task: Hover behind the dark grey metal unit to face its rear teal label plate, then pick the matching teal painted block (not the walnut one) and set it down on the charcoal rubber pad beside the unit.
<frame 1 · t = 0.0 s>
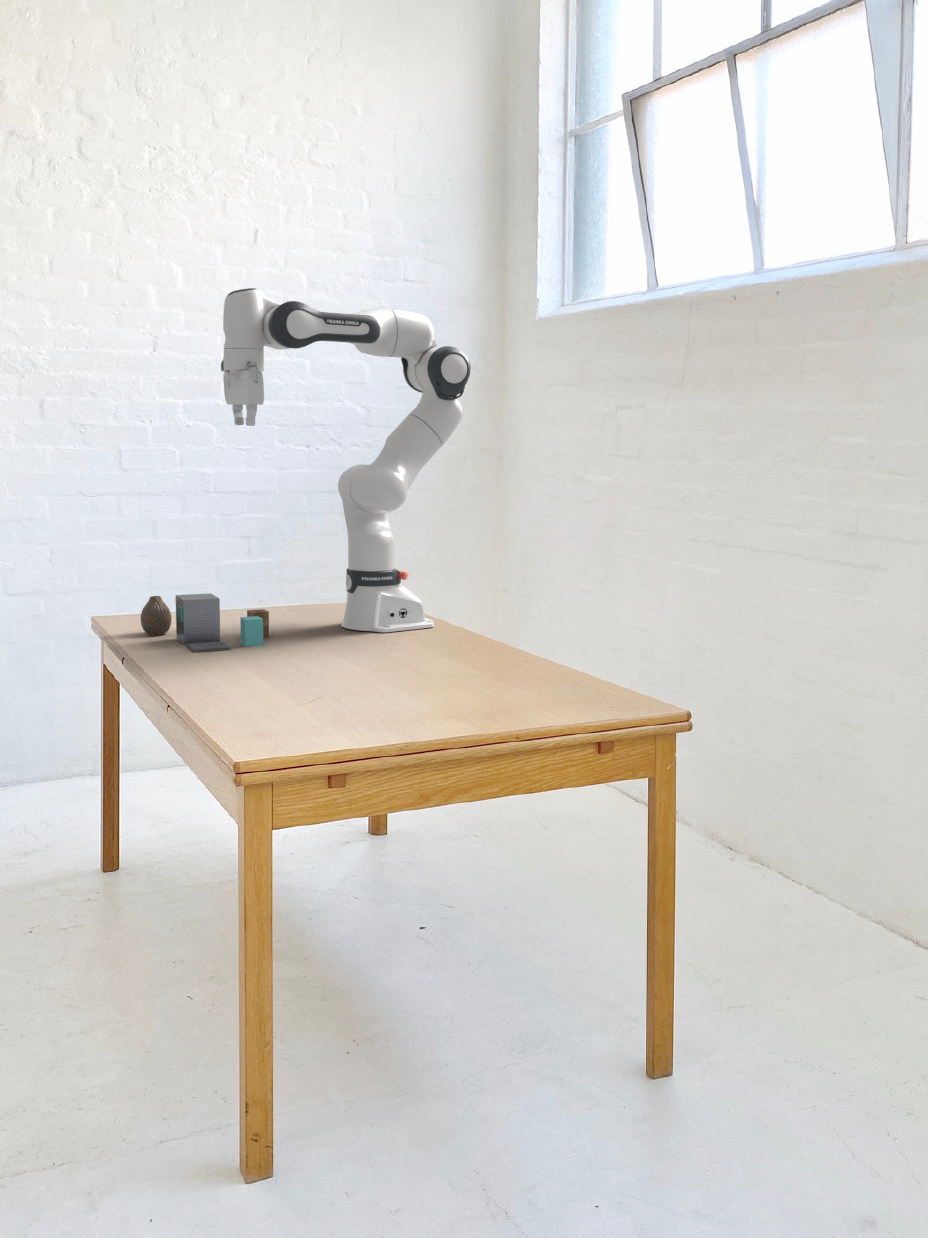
hand: (244, 425, 270), 48 cm above the table, fingers open, 8 cm apart
pad: (208, 648, 261), on the table
teal block: (252, 644, 266), on the table
walnut block: (258, 636, 276), on the table
vase: (156, 634, 276), on the table
unit: (198, 640, 269), on the table
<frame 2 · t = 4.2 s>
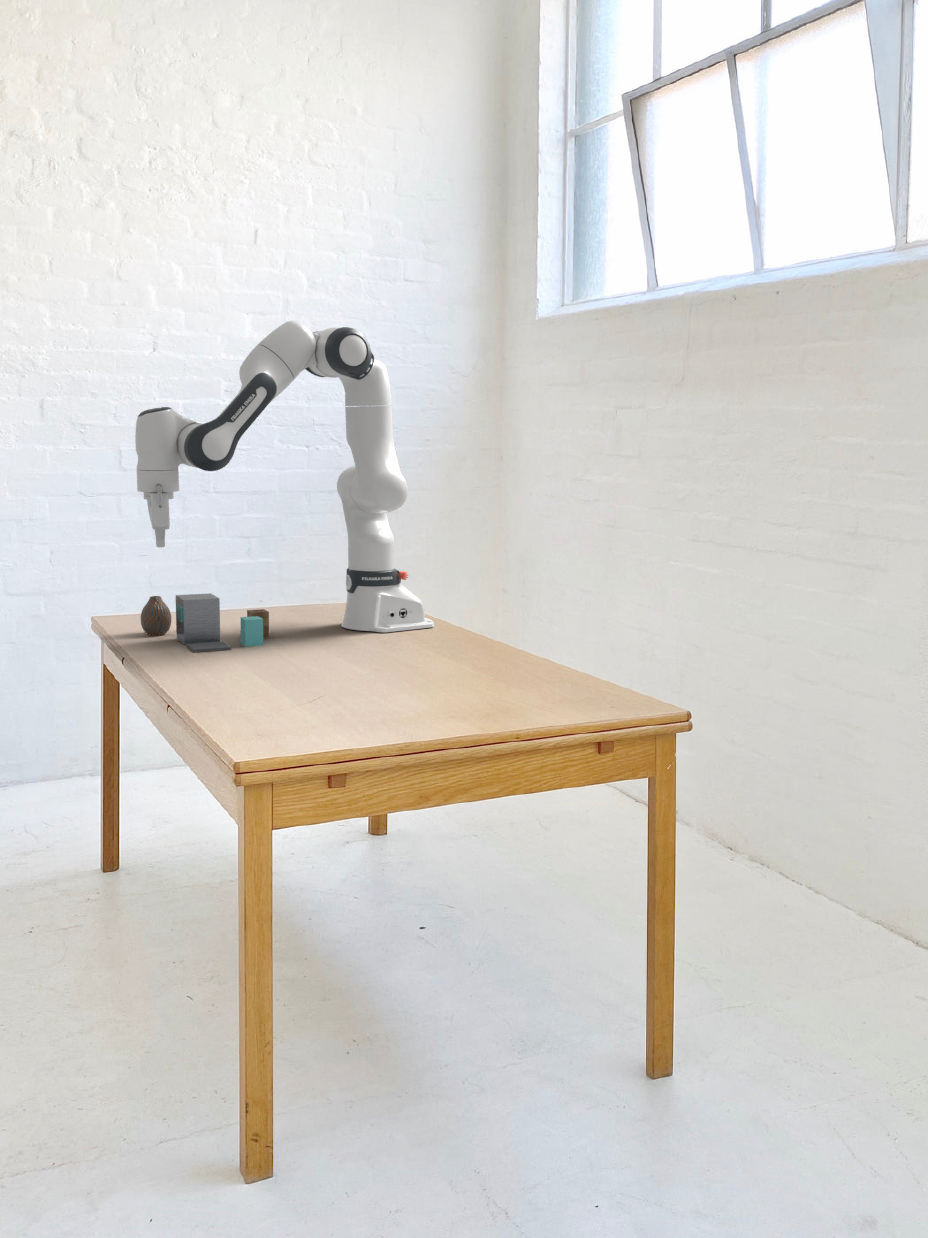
hand: (160, 546, 261), 22 cm above the table, fingers closed
nothing on the table moved.
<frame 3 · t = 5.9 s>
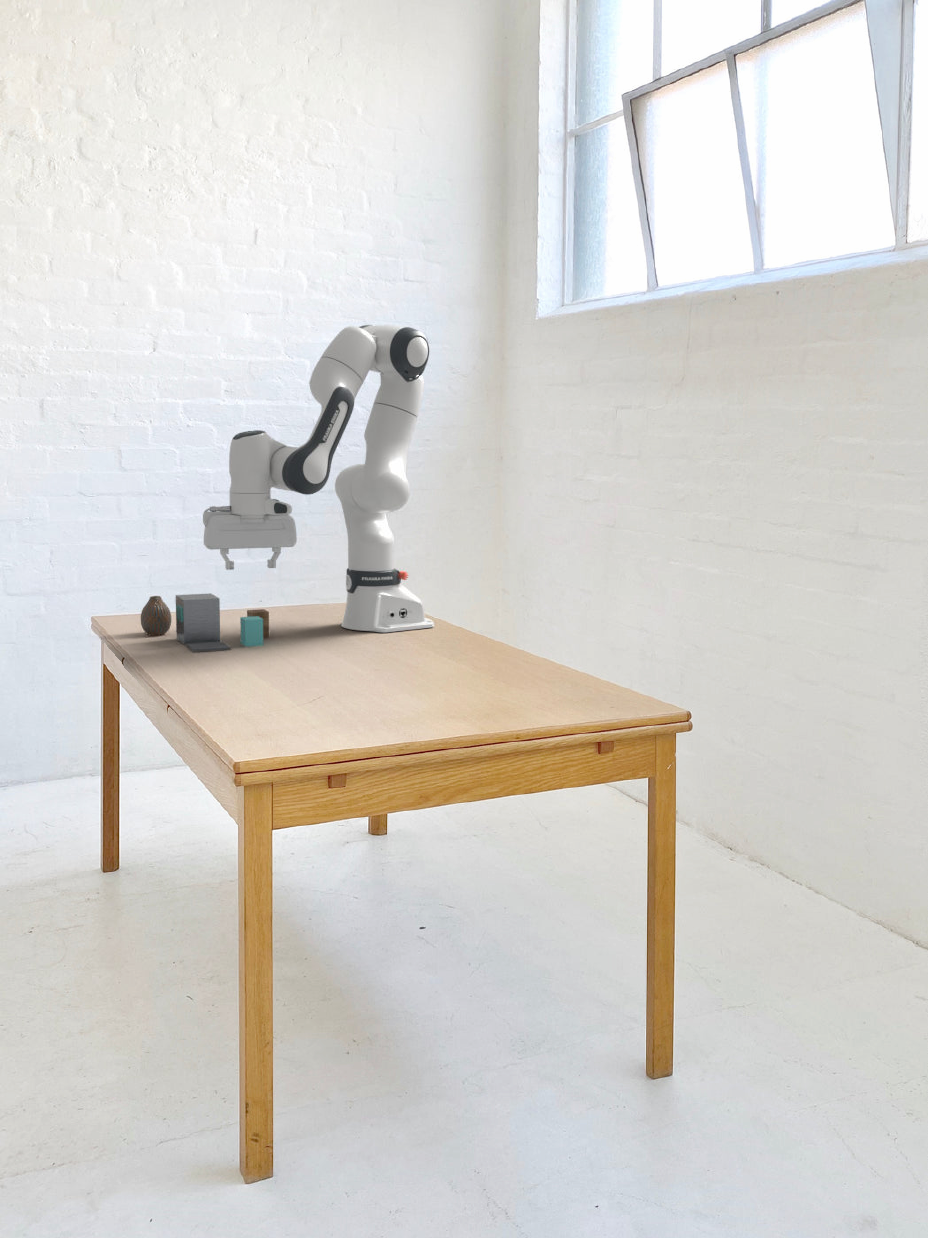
hand: (250, 568, 263), 17 cm above the table, fingers open, 8 cm apart
nothing on the table moved.
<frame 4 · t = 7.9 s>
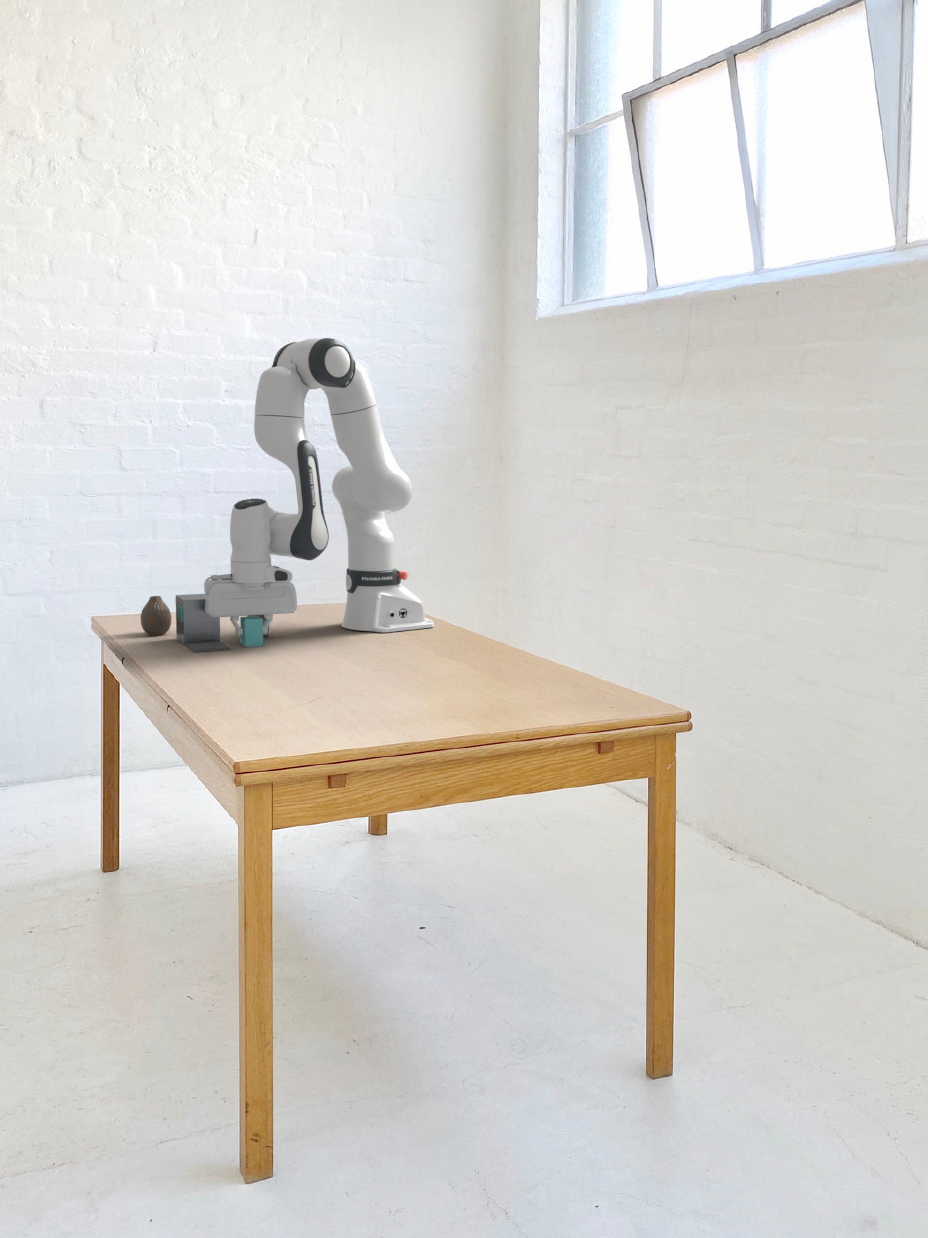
hand: (251, 635, 266), 2 cm above the table, fingers closed on teal block, 4 cm apart
teal block: (251, 644, 266), on the table, touching gripper
everything else where it was.
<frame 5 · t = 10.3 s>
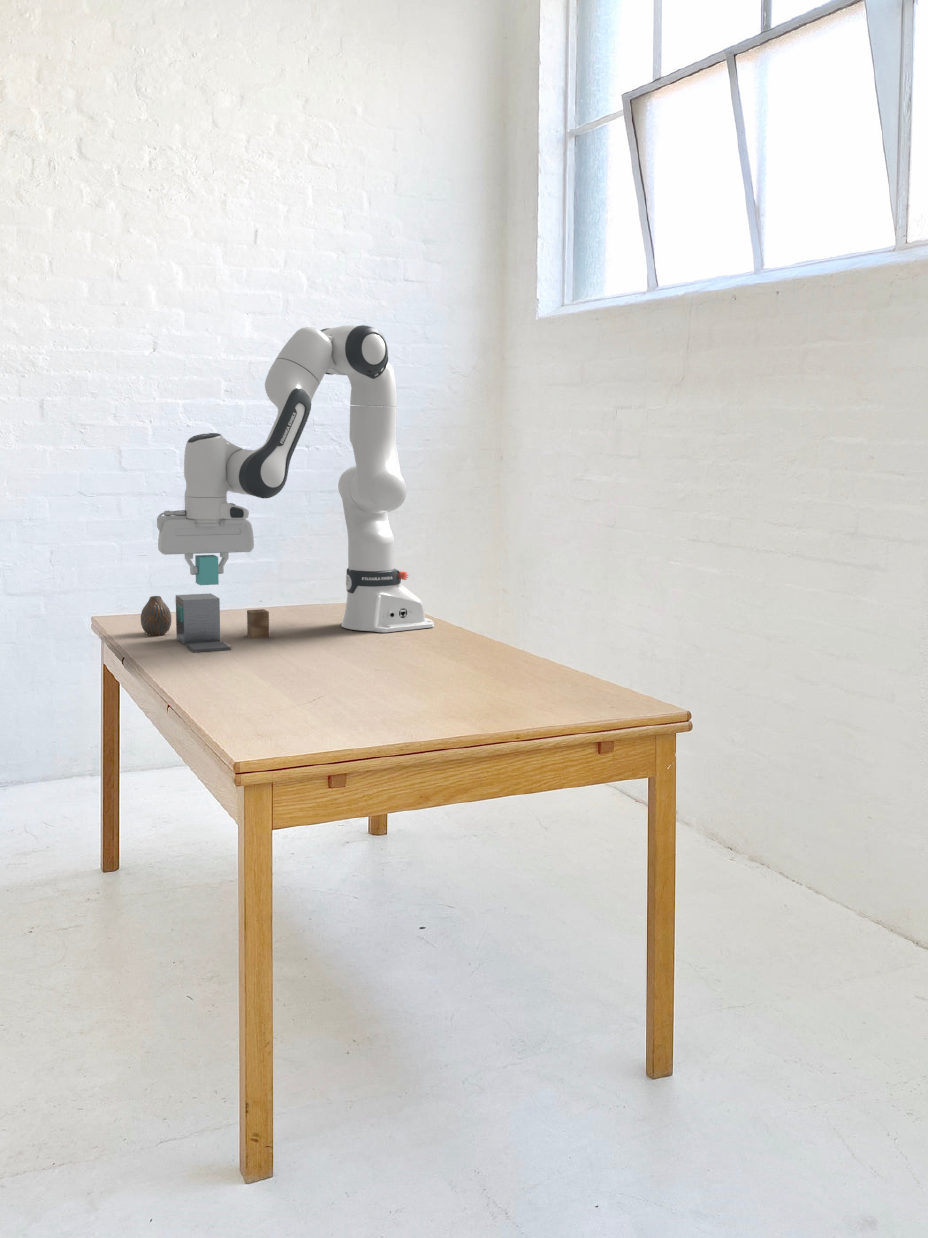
hand: (206, 574, 258), 16 cm above the table, fingers closed on teal block, 4 cm apart
teal block: (207, 583, 258), point 14 cm above the table, touching gripper
everything else where it was.
when the fingers open (4 cm above the table, at t = 12.8 s): teal block drops 1 cm, resting on pad.
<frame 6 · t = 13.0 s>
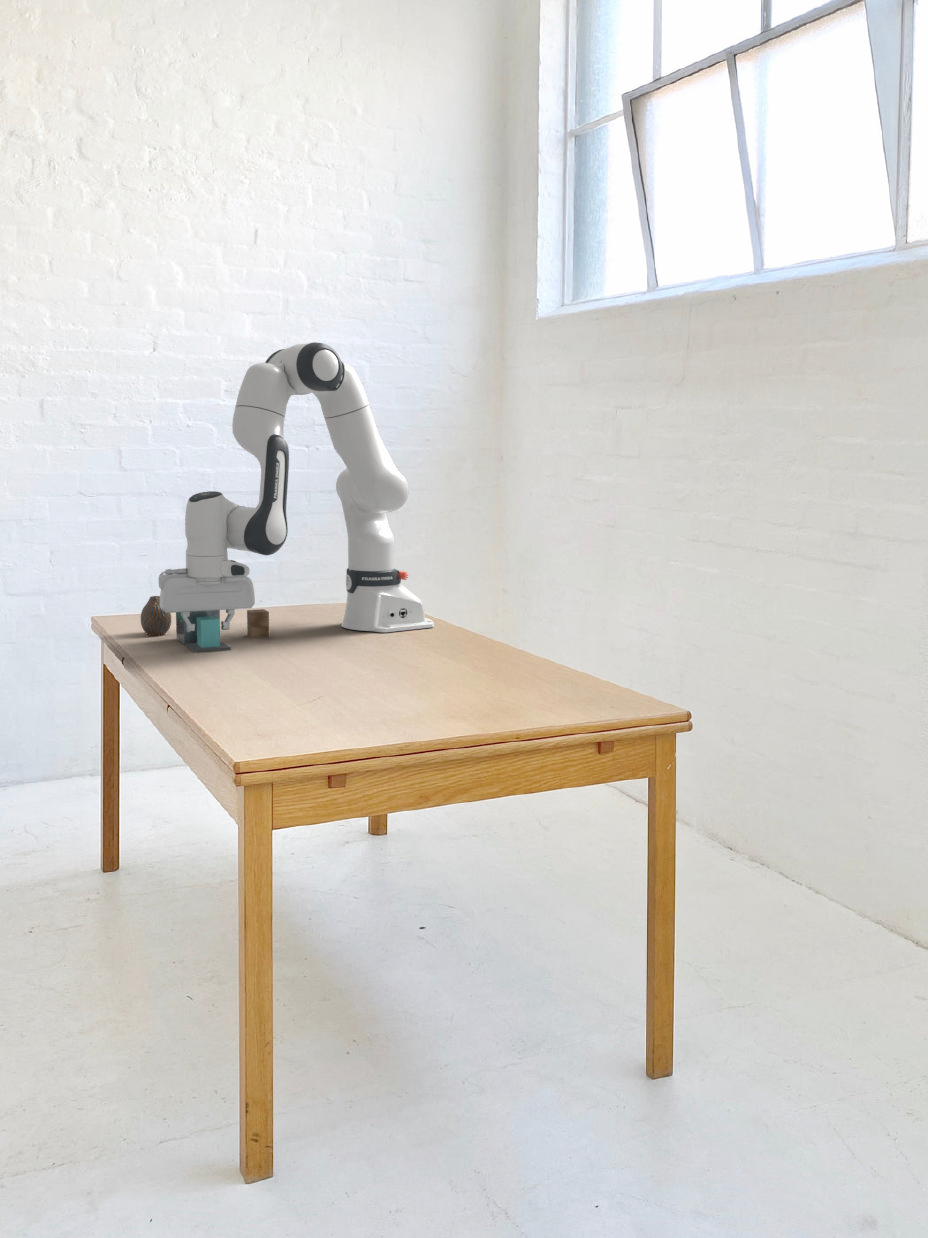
hand: (208, 630, 260), 4 cm above the table, fingers open, 6 cm apart
teal block: (208, 645, 261), point 1 cm above the table, touching pad
everything else where it was.
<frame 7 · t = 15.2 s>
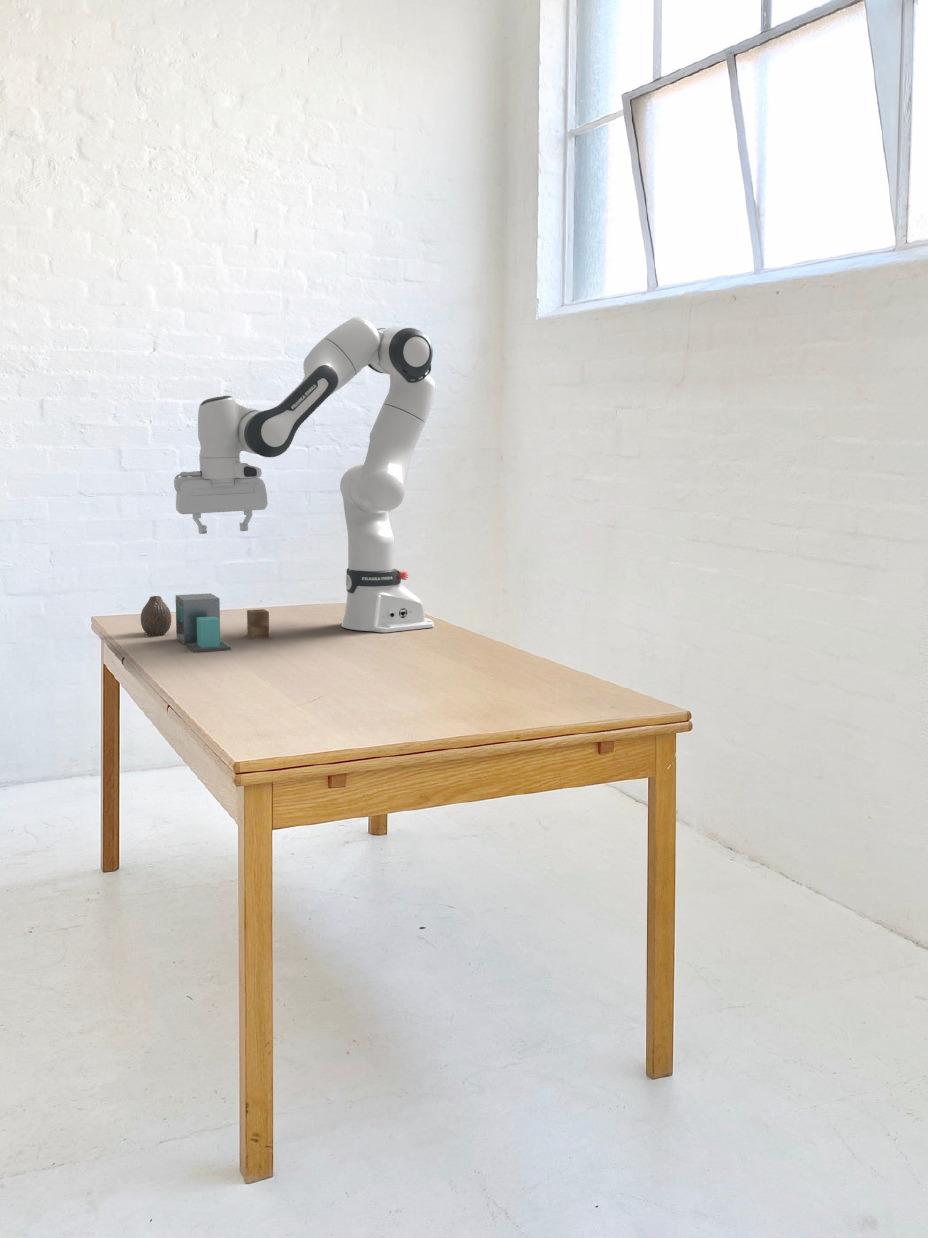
hand: (223, 532, 268), 24 cm above the table, fingers open, 8 cm apart
nothing on the table moved.
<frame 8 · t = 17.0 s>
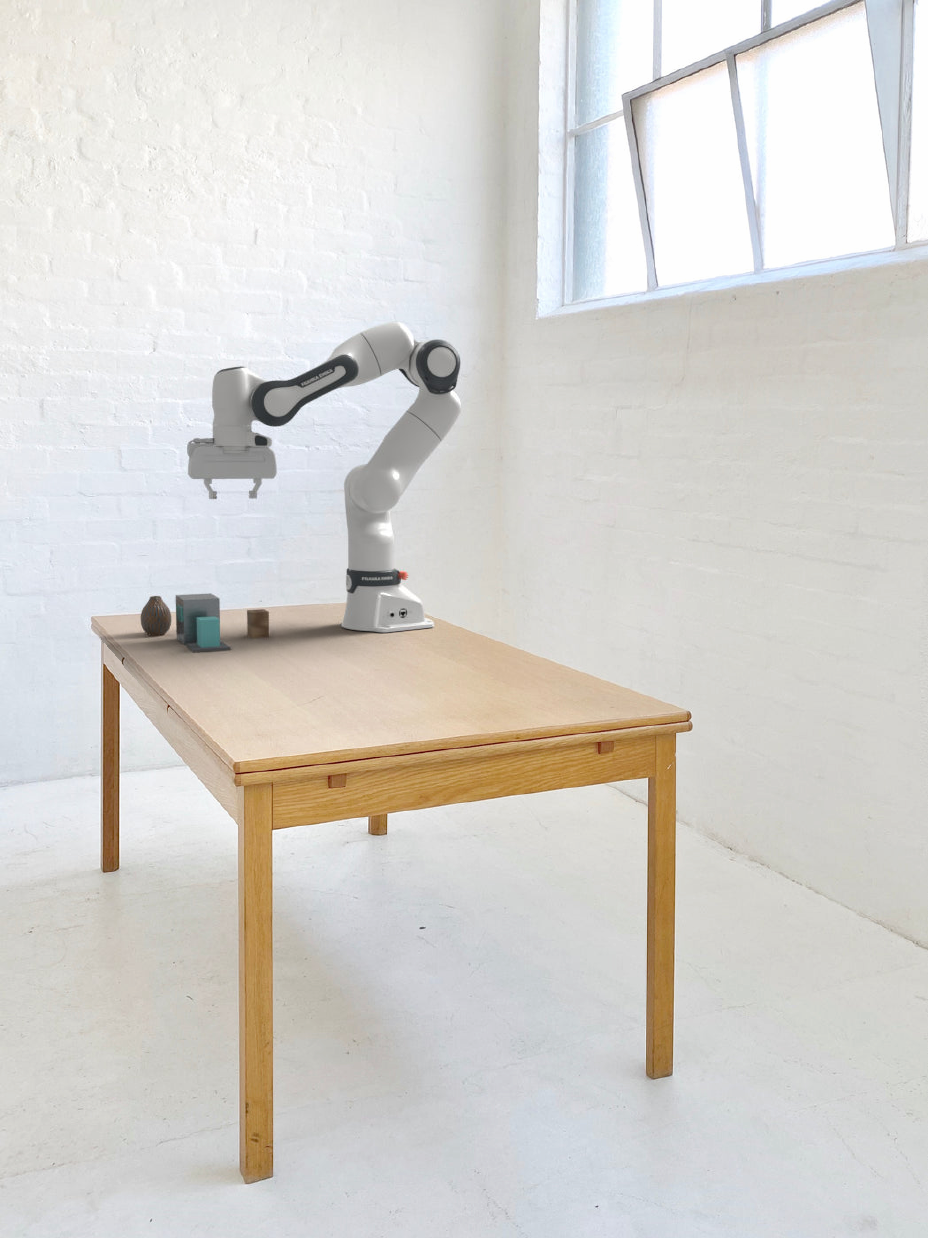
hand: (233, 498, 277), 31 cm above the table, fingers open, 8 cm apart
nothing on the table moved.
at the end: teal block inside the target area on the pad (0.0 cm from its centre), point 0.6 cm above the pad's base; teal block tilted 0°; walnut block moved 0.1 cm from its start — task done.
